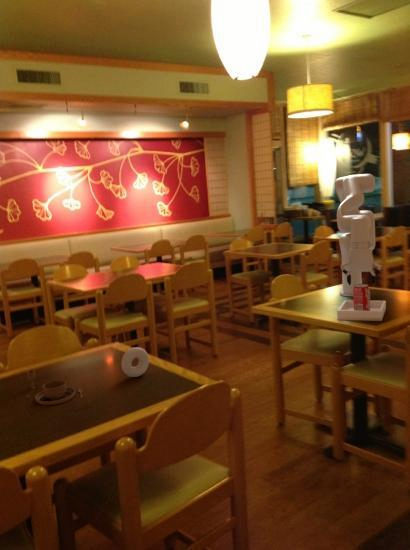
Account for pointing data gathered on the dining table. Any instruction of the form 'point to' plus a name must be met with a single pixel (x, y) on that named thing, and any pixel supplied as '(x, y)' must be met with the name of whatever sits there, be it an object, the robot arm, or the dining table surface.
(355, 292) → the soda can
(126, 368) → the donut
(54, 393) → the place setting
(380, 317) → the tray
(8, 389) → the dining table surface
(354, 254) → the robot arm
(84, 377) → the dining table surface
